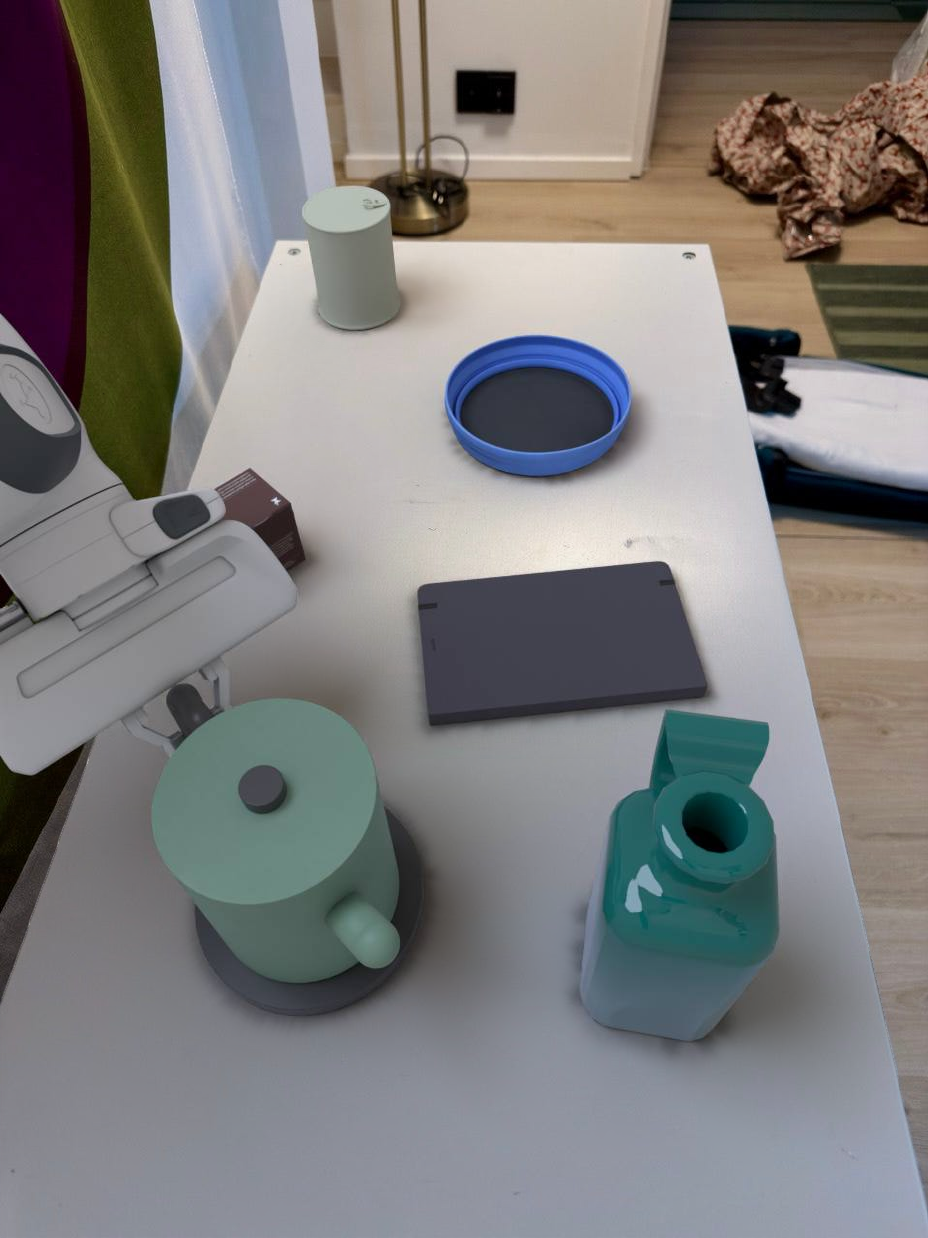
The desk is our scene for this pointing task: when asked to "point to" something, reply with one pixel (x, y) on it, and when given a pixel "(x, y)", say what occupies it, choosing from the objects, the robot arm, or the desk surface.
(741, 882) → the pitcher
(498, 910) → the desk surface
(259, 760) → the kettle
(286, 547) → the box
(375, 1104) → the desk surface
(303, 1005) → the kettle base
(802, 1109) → the desk surface
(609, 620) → the notebook
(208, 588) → the robot arm
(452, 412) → the bowl
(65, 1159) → the desk surface
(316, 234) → the can
